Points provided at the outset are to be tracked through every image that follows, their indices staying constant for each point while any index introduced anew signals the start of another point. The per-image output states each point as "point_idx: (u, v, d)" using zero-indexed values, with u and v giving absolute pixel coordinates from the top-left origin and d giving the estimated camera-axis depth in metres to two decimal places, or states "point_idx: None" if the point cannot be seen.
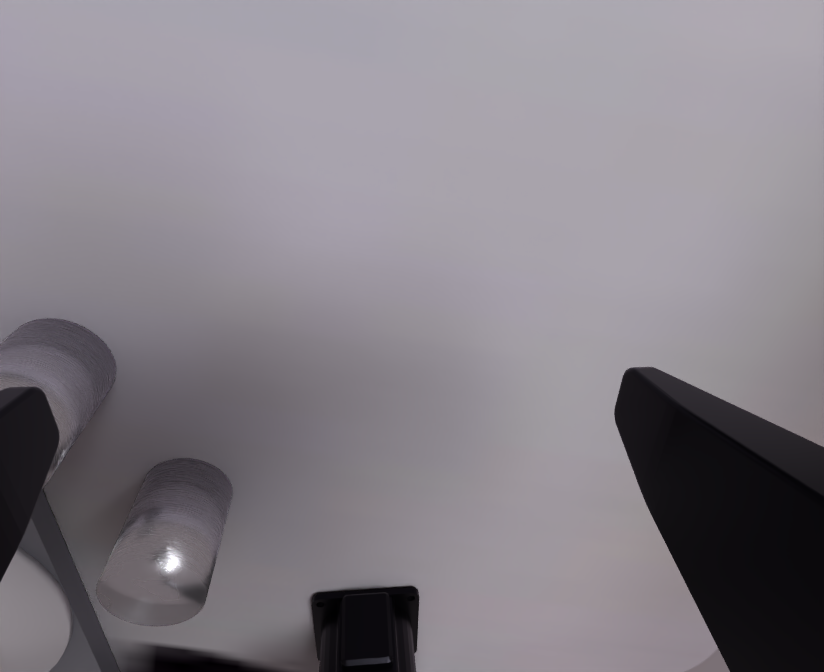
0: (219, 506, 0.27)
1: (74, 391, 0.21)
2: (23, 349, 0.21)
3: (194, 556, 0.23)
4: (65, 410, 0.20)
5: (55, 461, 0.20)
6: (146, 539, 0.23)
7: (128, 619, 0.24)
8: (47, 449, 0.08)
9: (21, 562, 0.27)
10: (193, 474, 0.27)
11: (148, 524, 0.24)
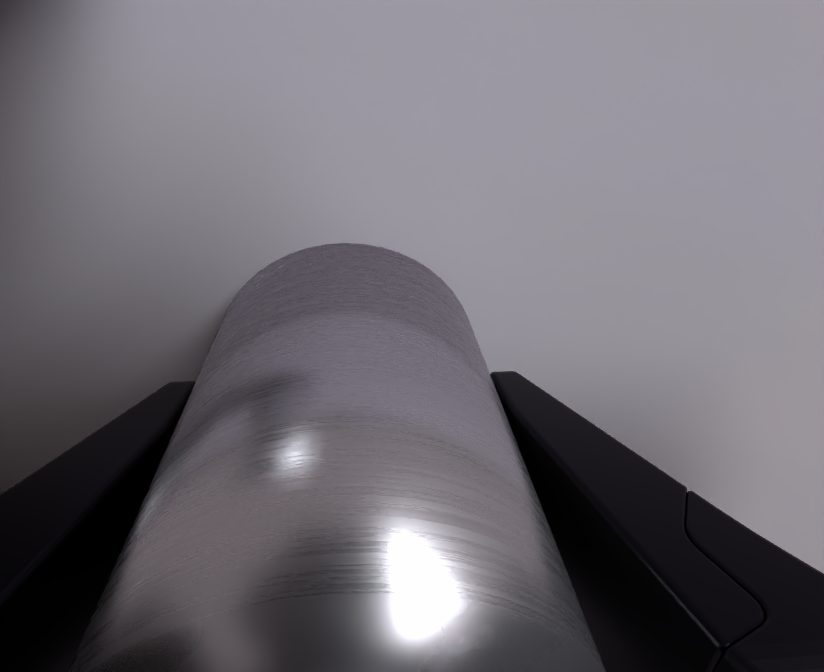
0: (494, 388, 0.08)
1: None
2: None
3: (556, 566, 0.04)
4: None
5: None
6: (326, 474, 0.04)
7: None
8: None
9: None
10: (402, 278, 0.08)
11: (307, 408, 0.05)
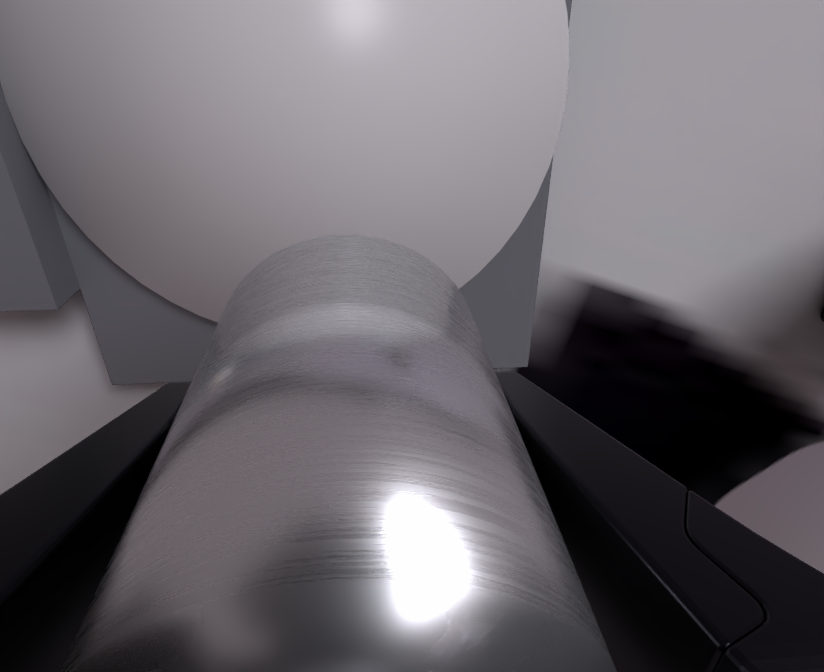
0: (498, 380, 0.08)
1: None
2: None
3: (562, 555, 0.04)
4: None
5: None
6: (329, 461, 0.04)
7: None
8: None
9: None
10: (404, 269, 0.08)
11: (308, 394, 0.05)
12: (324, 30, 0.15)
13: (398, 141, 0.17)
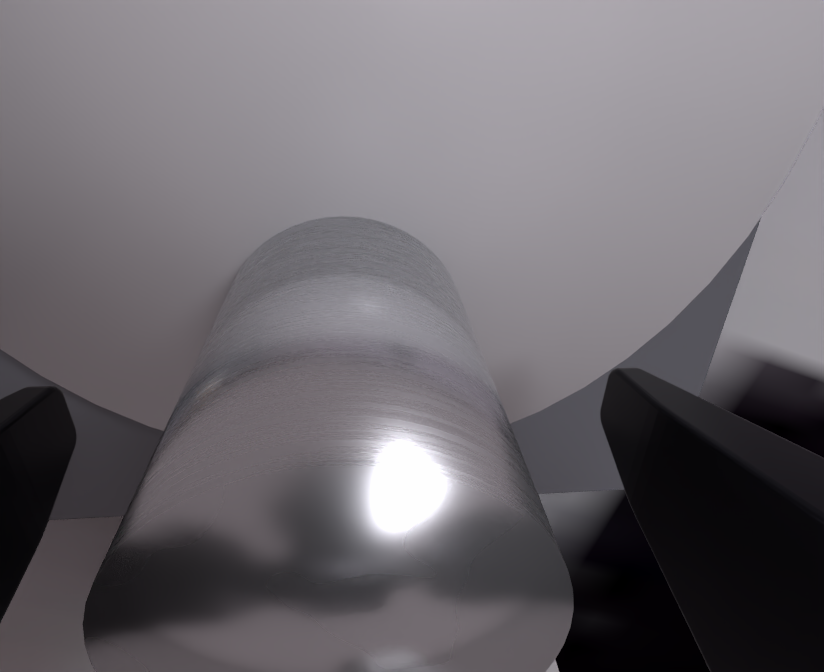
0: (479, 346, 0.08)
1: None
2: None
3: (522, 473, 0.05)
4: None
5: None
6: (325, 387, 0.05)
7: None
8: (65, 448, 0.08)
9: None
10: (395, 246, 0.08)
11: (309, 340, 0.06)
12: None
13: (525, 129, 0.09)
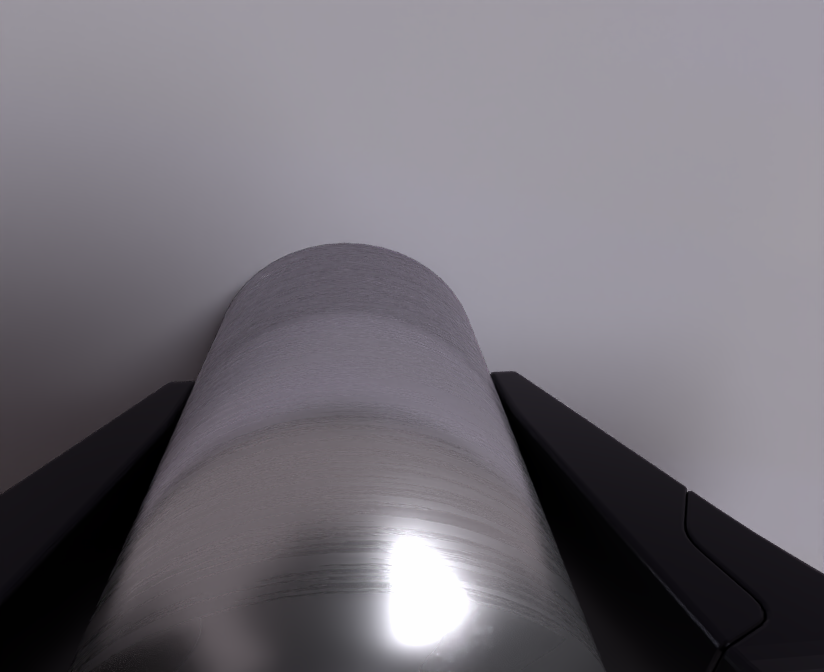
0: None
1: None
2: (365, 321, 0.06)
3: None
4: None
5: None
6: None
7: None
8: None
9: None
10: None
11: None
12: None
13: None
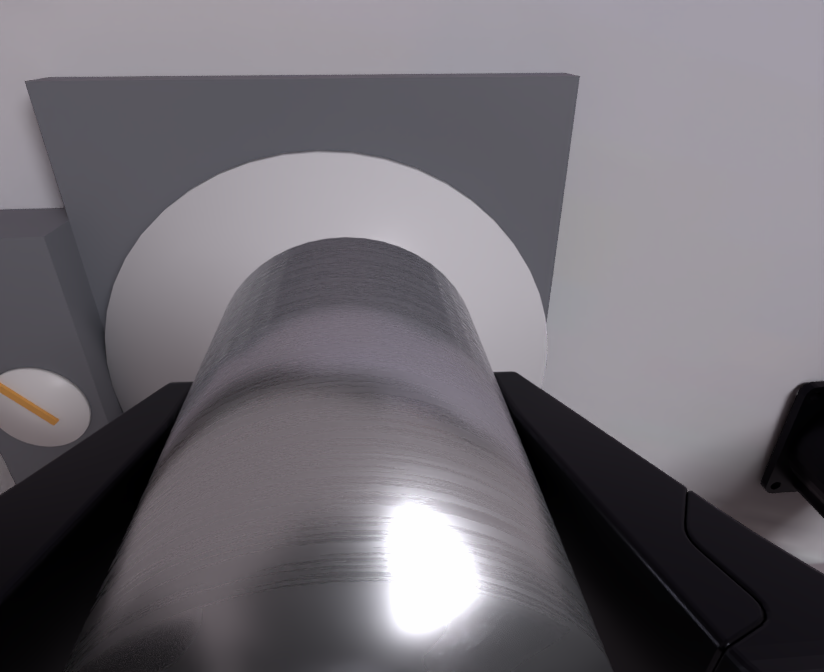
0: None
1: (524, 451, 0.06)
2: (368, 313, 0.06)
3: None
4: None
5: None
6: None
7: None
8: None
9: (532, 277, 0.19)
10: None
11: None
12: None
13: None
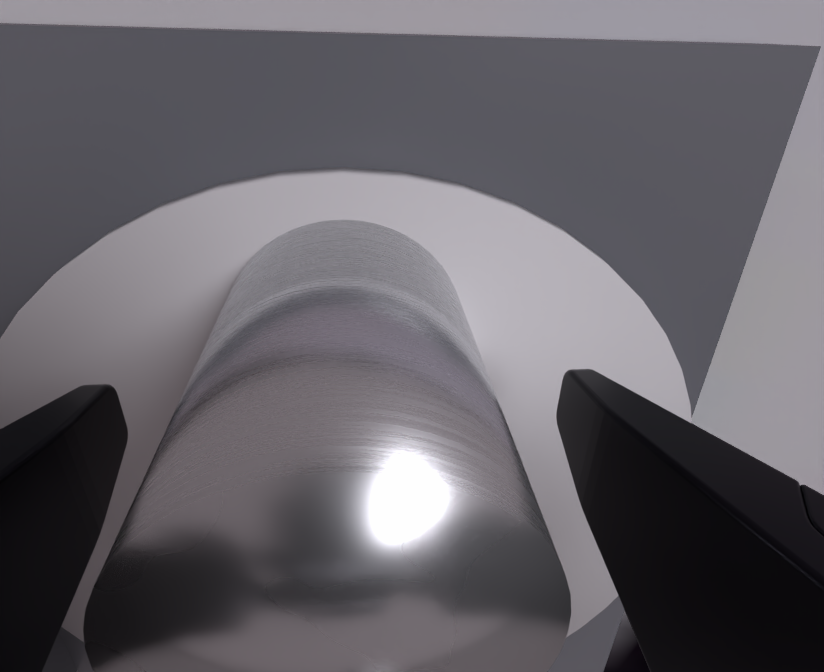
0: None
1: (499, 404, 0.07)
2: (360, 281, 0.07)
3: None
4: None
5: None
6: None
7: None
8: (119, 446, 0.08)
9: (683, 381, 0.12)
10: None
11: None
12: None
13: None
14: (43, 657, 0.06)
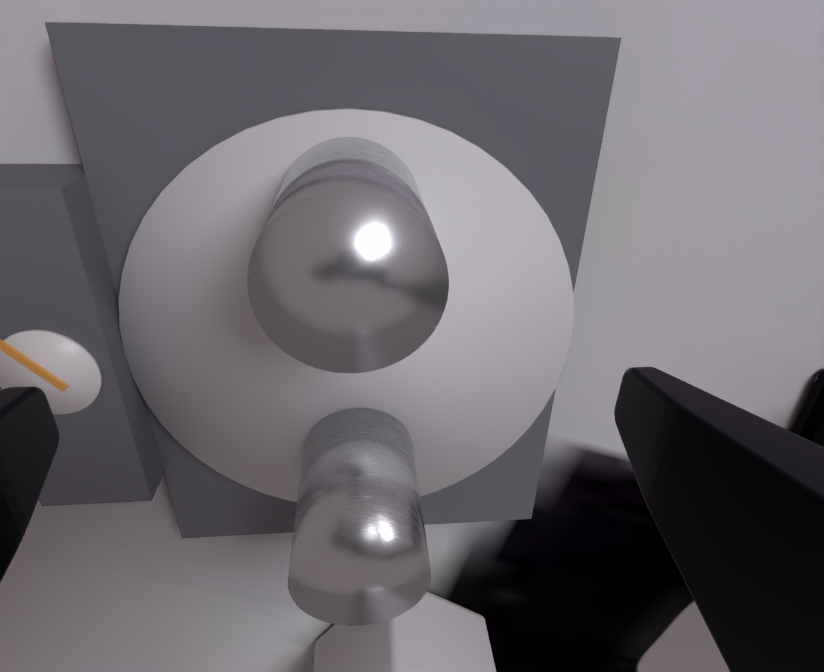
0: (414, 468, 0.20)
1: None
2: (359, 154, 0.14)
3: (416, 530, 0.17)
4: None
5: None
6: (356, 506, 0.17)
7: (318, 616, 0.18)
8: (47, 449, 0.08)
9: (562, 249, 0.19)
10: (379, 426, 0.20)
11: (349, 486, 0.17)
12: None
13: (435, 374, 0.21)
14: None
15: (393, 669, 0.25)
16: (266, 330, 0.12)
